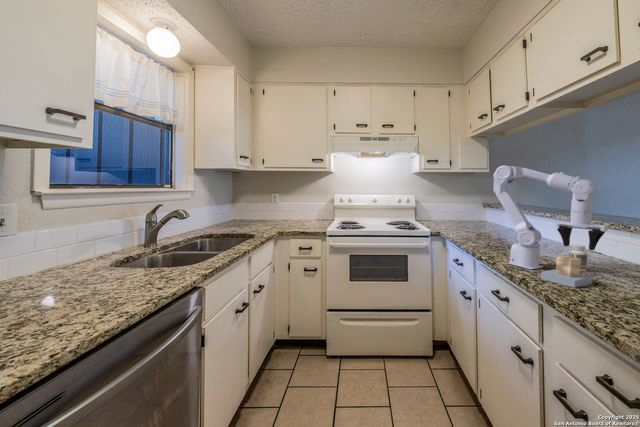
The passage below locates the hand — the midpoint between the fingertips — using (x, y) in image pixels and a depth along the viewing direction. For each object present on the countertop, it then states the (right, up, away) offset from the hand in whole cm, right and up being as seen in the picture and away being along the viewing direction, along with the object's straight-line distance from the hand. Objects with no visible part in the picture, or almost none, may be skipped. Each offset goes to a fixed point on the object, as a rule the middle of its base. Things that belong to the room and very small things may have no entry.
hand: (578, 247), depth 102 cm
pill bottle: (+7, -10, +8) cm, 15 cm away
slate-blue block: (-10, -12, -6) cm, 16 cm away
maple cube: (-10, -9, -6) cm, 15 cm away
